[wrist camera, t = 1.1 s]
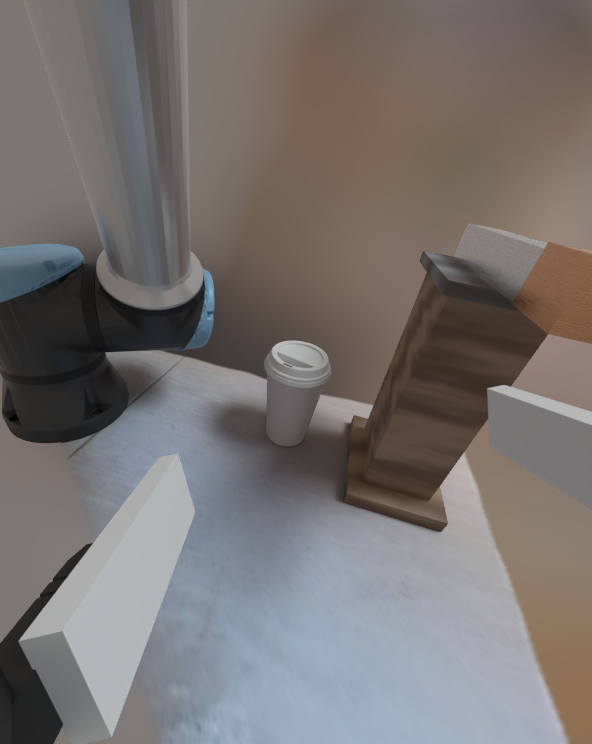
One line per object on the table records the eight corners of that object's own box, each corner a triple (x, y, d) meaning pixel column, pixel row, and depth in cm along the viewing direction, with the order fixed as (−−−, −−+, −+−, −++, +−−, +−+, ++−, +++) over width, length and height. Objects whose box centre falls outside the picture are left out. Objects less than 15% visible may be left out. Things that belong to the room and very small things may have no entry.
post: (441, 531, 38) (618, 319, 21) (343, 502, 39) (438, 280, 22) (423, 443, 51) (524, 270, 34) (350, 423, 52) (414, 247, 36)
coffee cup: (245, 424, 48) (251, 345, 40) (289, 405, 54) (303, 333, 45) (280, 464, 42) (296, 382, 34) (325, 438, 48) (348, 363, 40)
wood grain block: (627, 351, 15) (696, 275, 13) (547, 333, 16) (601, 257, 14) (486, 263, 34) (505, 226, 32) (452, 256, 35) (468, 219, 33)
